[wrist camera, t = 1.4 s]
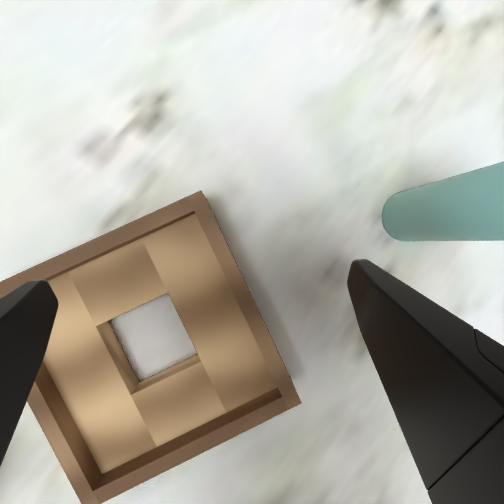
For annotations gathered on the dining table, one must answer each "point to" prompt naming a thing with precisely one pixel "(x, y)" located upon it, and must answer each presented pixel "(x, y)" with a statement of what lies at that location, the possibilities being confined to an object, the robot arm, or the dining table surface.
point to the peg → (450, 208)
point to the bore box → (166, 382)
